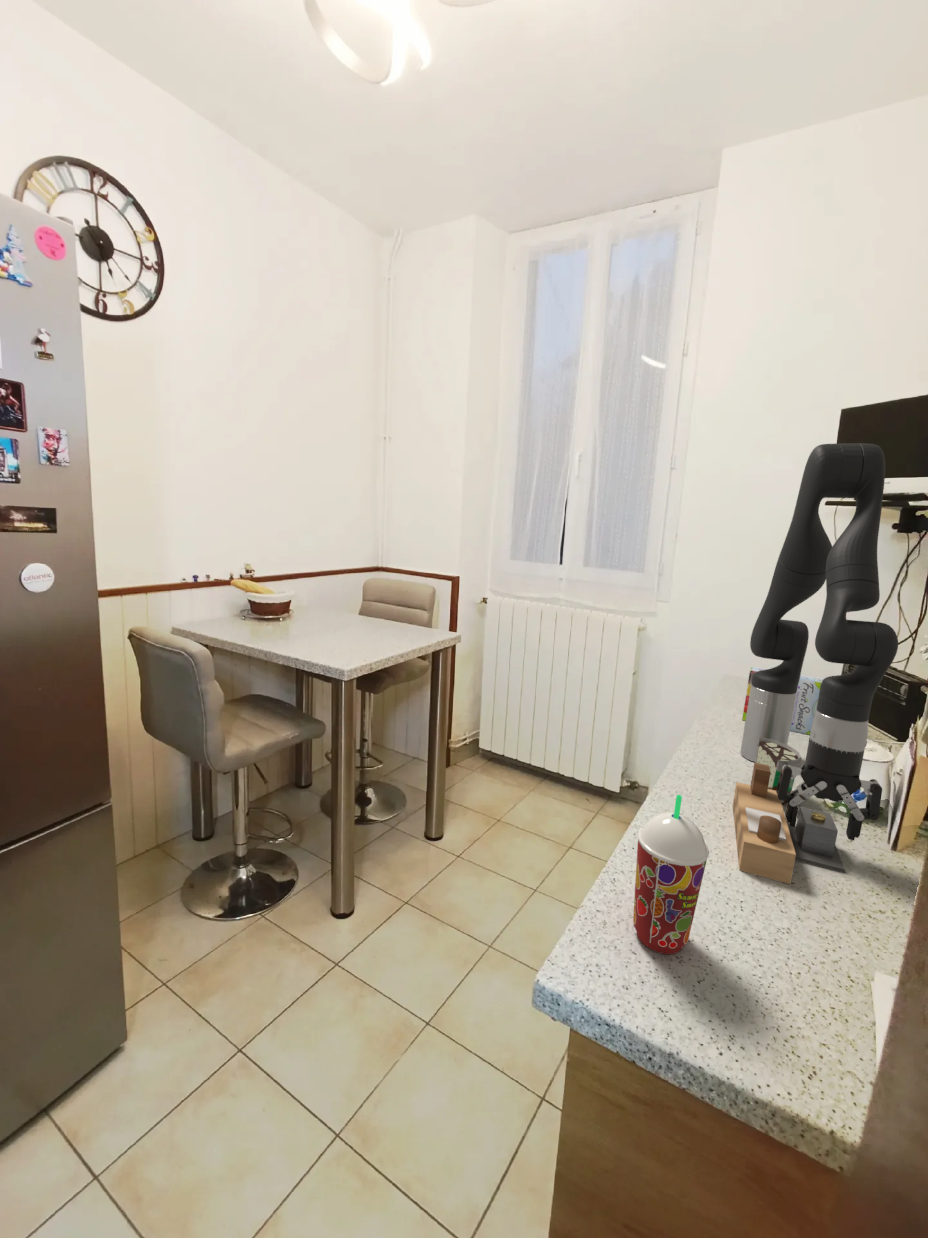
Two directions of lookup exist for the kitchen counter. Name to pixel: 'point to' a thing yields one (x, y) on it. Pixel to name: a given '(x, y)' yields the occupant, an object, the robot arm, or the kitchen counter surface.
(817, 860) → the mat
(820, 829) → the grey box
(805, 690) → the snack box
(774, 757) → the food container
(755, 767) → the plane body
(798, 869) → the kitchen counter surface
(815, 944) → the kitchen counter surface
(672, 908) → the smoothie
